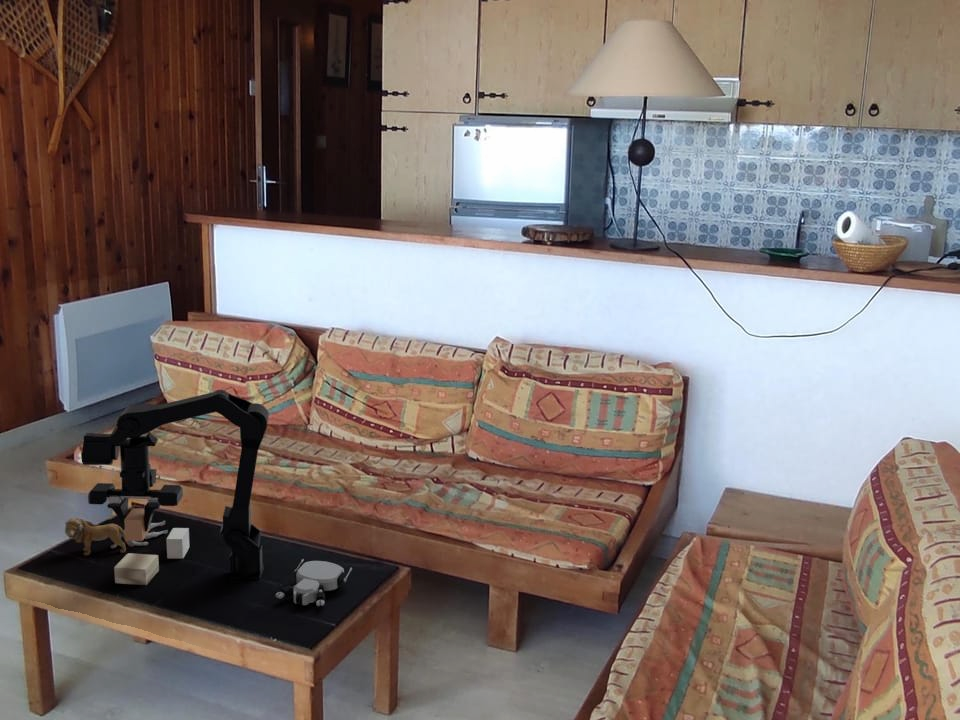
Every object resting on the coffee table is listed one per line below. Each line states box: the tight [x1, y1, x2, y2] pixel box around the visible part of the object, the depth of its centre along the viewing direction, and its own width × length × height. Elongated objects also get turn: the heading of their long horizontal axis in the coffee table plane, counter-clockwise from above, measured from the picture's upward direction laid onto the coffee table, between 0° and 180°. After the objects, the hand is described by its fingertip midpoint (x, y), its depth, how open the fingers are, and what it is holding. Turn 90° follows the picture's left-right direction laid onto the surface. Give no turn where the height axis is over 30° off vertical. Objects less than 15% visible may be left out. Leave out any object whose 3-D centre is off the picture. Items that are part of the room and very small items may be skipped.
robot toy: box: [275, 558, 353, 607], centre depth 203 cm, size 12×4×15 cm
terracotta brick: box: [124, 507, 151, 542], centre depth 203 cm, size 4×6×5 cm, turn 4°
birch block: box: [113, 552, 160, 586], centre depth 207 cm, size 7×7×4 cm
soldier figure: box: [119, 520, 169, 547], centre depth 224 cm, size 8×5×12 cm
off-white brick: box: [165, 527, 190, 559], centre depth 219 cm, size 4×6×5 cm, turn 3°
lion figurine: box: [64, 517, 135, 556], centre depth 217 cm, size 15×5×9 cm, turn 111°
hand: (137, 530), depth 204 cm, fingers closed on terracotta brick, 4 cm apart
